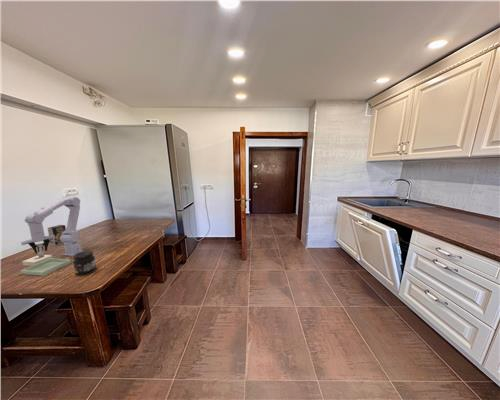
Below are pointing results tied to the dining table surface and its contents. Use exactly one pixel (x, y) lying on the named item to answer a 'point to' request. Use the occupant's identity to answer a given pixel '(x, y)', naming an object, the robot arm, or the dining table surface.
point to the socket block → (35, 260)
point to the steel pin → (40, 250)
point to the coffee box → (56, 234)
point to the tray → (45, 267)
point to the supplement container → (84, 262)
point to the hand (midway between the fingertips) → (41, 251)
